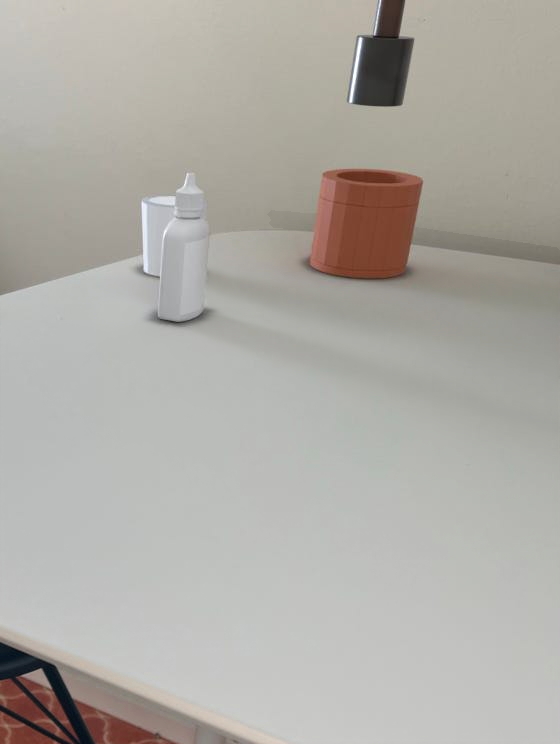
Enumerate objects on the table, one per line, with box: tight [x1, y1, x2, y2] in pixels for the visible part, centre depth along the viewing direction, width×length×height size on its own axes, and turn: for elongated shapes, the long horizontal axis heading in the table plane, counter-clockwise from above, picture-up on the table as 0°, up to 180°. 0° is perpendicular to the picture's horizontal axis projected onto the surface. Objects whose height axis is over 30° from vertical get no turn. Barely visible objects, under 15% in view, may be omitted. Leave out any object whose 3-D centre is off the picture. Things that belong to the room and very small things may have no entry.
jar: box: [309, 168, 424, 280], centre depth 106 cm, size 10×10×9 cm
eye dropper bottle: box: [157, 172, 211, 323], centre depth 89 cm, size 4×6×12 cm
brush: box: [346, 0, 416, 108], centre depth 83 cm, size 5×5×13 cm
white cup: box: [141, 194, 208, 278], centre depth 103 cm, size 7×7×7 cm
